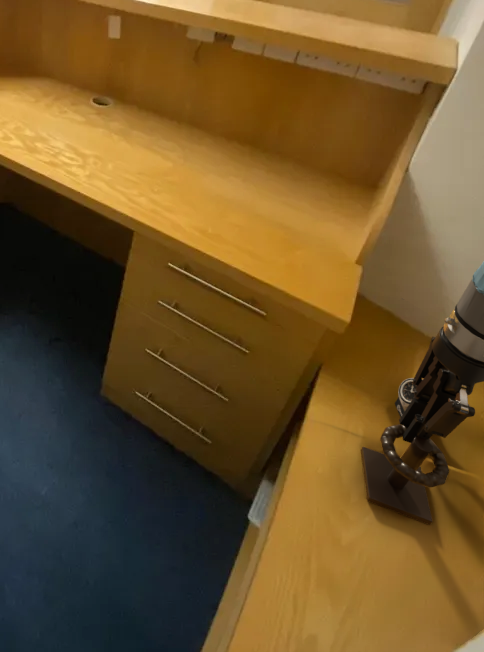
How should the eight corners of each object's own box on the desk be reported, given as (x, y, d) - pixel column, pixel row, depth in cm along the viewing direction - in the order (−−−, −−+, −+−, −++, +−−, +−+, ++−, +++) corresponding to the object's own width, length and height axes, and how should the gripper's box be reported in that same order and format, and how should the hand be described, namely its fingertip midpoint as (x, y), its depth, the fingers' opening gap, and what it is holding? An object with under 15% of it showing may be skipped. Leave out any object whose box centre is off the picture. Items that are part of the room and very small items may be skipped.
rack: (418, 470, 89) (449, 428, 83) (430, 525, 82) (465, 484, 75) (360, 449, 92) (386, 407, 86) (367, 501, 85) (395, 459, 78)
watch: (382, 403, 100) (402, 369, 94) (427, 412, 98) (451, 377, 93) (392, 431, 95) (415, 397, 89) (440, 441, 94) (466, 406, 88)
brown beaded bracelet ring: (434, 438, 86) (439, 433, 85) (454, 497, 78) (459, 492, 77) (373, 421, 88) (377, 415, 87) (387, 477, 80) (391, 471, 80)
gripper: (429, 296, 80) (377, 385, 92) (456, 378, 68) (392, 469, 80) (487, 311, 78) (426, 401, 90) (525, 399, 66) (448, 489, 78)
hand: (410, 433), depth 85 cm, fingers closed on brown beaded bracelet ring, 2 cm apart
